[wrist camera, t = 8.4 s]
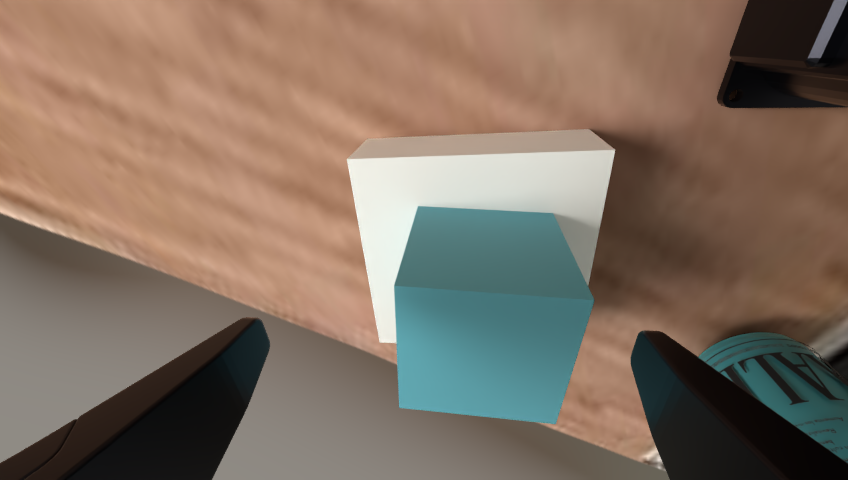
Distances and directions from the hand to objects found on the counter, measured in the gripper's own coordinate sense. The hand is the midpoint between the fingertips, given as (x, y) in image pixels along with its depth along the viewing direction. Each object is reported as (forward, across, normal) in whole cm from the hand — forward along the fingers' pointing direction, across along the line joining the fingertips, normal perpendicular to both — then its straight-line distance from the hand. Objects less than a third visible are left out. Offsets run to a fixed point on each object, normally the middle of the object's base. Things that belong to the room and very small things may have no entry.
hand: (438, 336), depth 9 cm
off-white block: (+12, -1, +4) cm, 13 cm away
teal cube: (+8, -1, +4) cm, 9 cm away
